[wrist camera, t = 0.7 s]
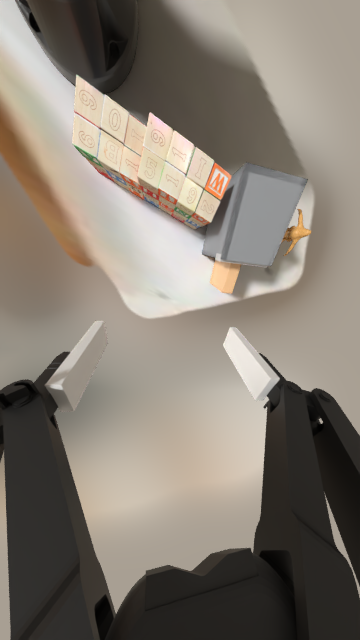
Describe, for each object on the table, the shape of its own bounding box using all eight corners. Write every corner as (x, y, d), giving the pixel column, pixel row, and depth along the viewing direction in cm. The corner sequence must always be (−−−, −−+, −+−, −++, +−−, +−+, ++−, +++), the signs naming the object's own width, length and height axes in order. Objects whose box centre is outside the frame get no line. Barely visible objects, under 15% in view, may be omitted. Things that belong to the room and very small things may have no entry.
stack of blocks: (98, 173, 26) (55, 125, 15) (104, 128, 24) (58, 34, 13) (194, 230, 33) (211, 223, 22) (207, 199, 30) (233, 175, 19)
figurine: (274, 252, 37) (318, 256, 27) (254, 254, 37) (290, 258, 27) (284, 215, 33) (341, 202, 23) (261, 216, 33) (308, 203, 22)
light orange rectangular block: (223, 224, 32) (243, 217, 25) (232, 225, 33) (255, 220, 25) (209, 282, 39) (222, 292, 31) (217, 283, 39) (231, 293, 32)
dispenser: (213, 193, 30) (246, 162, 18) (254, 202, 31) (307, 179, 20) (201, 255, 35) (221, 261, 24) (236, 260, 37) (270, 268, 26)
